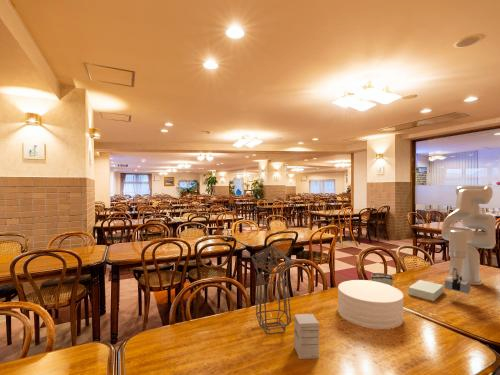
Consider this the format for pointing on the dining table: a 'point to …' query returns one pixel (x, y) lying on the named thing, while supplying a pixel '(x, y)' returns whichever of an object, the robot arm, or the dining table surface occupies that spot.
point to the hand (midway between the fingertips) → (457, 288)
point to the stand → (426, 290)
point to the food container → (382, 278)
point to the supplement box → (306, 336)
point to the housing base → (462, 287)
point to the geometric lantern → (272, 282)
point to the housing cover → (459, 280)
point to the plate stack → (370, 304)
